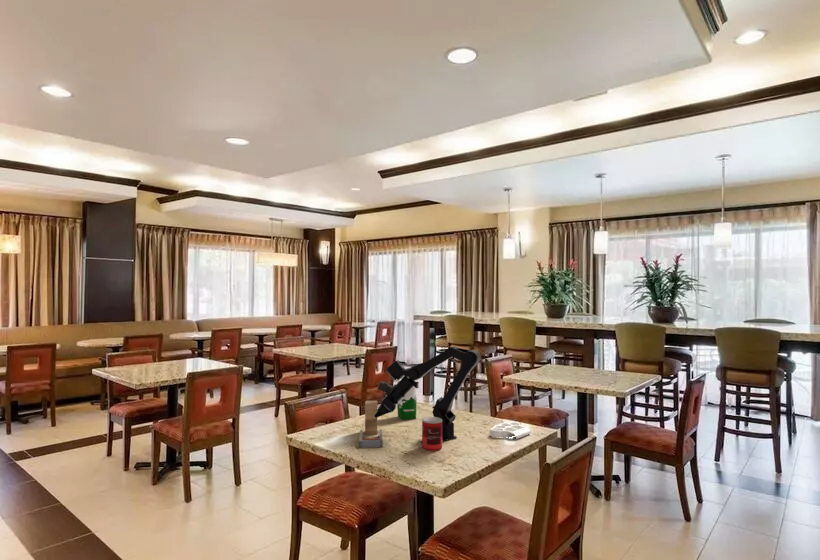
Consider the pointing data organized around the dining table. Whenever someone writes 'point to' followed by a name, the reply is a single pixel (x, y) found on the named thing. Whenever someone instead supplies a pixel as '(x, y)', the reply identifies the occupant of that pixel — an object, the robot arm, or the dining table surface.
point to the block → (370, 417)
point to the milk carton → (407, 405)
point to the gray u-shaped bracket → (370, 441)
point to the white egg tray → (509, 430)
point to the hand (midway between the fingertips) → (376, 414)
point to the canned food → (432, 433)
